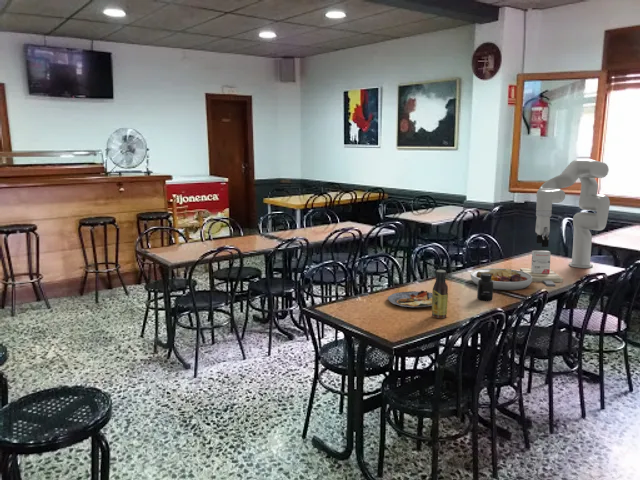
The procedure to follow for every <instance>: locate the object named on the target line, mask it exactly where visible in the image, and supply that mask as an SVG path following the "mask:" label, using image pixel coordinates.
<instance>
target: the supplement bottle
mask: <svg viewBox="0 0 640 480" xmlns="http://www.w3.org/2000/svg"><path fill="white" fill-rule="evenodd" d="M491 277H492V275H491V274H487V273H482V274H481V277H480V278H481V279H480V280H479V281H478V285H477V292H476V293H477V295H476V299H477V300H478V301H480V302H491V301H493V297H494V289H493V281H492V280H491V279H492V278H491Z"/></svg>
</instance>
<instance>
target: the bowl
mask: <svg viewBox="0 0 640 480" xmlns="http://www.w3.org/2000/svg"><path fill="white" fill-rule="evenodd" d="M482 273H487V274H491V275H492V277H491V278H492V279H491V280H492V281H493V290H499V291H501V290H502V291H515V290H516V291H517V290H522V289H525V288H527V287H529V286H530V285H531V284H532V283H533V282H532V276H531V275H530V274H528V273H525V272H522V271H520V270H518V269H512V268H502V267H501V268H496V267H495V268H494V267H490V268H488V267H487V268H478V269H475V270H471V272H470V279H471V281H472V282H473V283H474V284H475V285H477V286H478V281H479V280H480V279H481V278H480V277H481V274H482Z"/></svg>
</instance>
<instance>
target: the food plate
mask: <svg viewBox="0 0 640 480" xmlns="http://www.w3.org/2000/svg"><path fill="white" fill-rule="evenodd" d="M432 293H433V292H428V291H427V290H420V291H402V292H394V293H392V294H389V295H388V296H387V300H388V301H389V302H390V303H392V304H393V305H397V306H400V307H402V308H407V307H408V308H423V307H424V308H427V307H432Z"/></svg>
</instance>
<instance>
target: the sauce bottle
mask: <svg viewBox="0 0 640 480" xmlns="http://www.w3.org/2000/svg"><path fill="white" fill-rule="evenodd" d="M435 274H436V276H435V277H436V278H435V282H434V285H433V287H432V292H431V293H432V306H431V316H432V317H433V318H435V319H445V318H447V314H448V298H449V296H448V295H449V292H448V291H449V287H448V284H447V282H446V281H447V280H446V278H447V277H446V275H447V271H446V270H444V269H437V270H436V271H435Z"/></svg>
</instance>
